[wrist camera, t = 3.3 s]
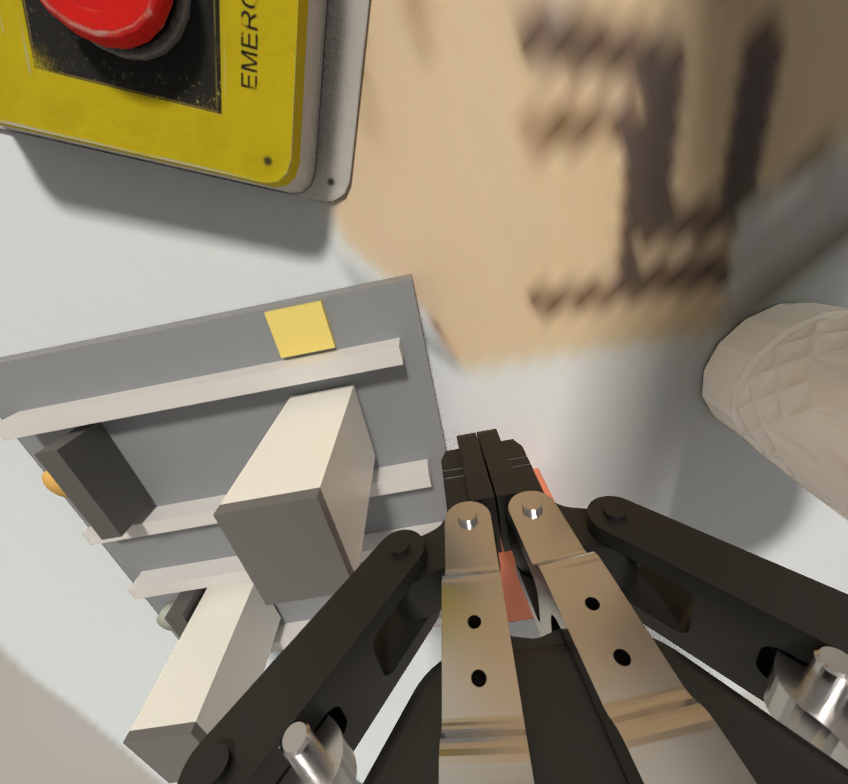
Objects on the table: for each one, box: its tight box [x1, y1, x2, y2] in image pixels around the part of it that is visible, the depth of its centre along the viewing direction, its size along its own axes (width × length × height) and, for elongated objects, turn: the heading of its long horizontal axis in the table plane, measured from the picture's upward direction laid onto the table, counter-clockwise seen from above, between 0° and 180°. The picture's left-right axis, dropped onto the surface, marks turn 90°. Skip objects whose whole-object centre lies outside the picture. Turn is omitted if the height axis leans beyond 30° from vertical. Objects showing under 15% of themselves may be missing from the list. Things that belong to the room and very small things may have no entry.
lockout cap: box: [499, 468, 555, 622], centre depth 20 cm, size 4×4×6 cm
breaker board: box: [0, 274, 447, 652], centre depth 20 cm, size 20×22×4 cm
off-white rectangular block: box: [213, 385, 375, 605], centre depth 14 cm, size 3×4×7 cm
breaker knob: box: [123, 580, 281, 783], centre depth 20 cm, size 3×4×7 cm
